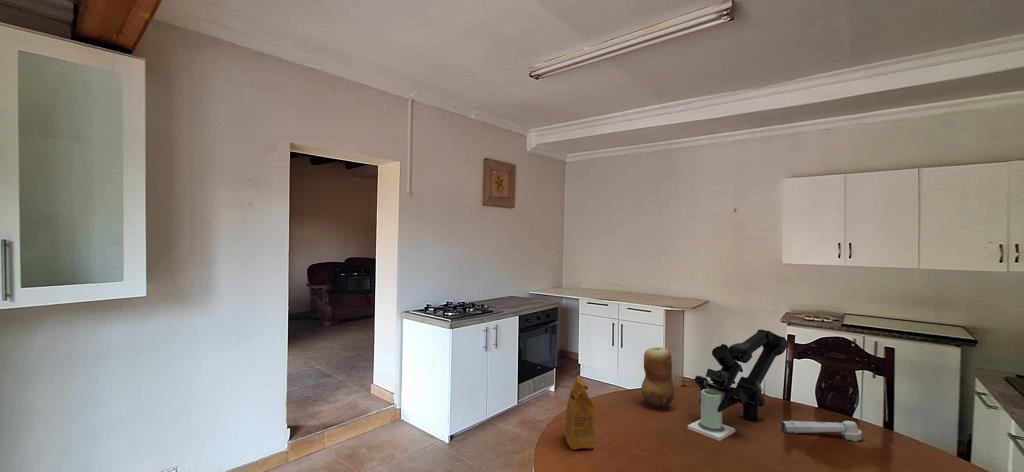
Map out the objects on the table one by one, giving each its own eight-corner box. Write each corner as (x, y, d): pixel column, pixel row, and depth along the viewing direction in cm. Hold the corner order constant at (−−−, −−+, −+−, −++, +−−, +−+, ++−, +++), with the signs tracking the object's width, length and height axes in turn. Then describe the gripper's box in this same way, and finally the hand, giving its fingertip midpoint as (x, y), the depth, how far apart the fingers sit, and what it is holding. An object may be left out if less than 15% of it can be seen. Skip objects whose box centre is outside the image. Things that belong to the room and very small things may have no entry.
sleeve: (714, 420, 158) (715, 389, 158) (725, 428, 152) (725, 395, 152) (697, 420, 158) (698, 389, 158) (707, 428, 151) (707, 396, 151)
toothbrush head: (779, 418, 157) (854, 416, 151) (781, 436, 157) (857, 434, 151) (784, 424, 152) (863, 422, 146) (787, 442, 152) (866, 441, 146)
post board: (703, 420, 163) (703, 408, 163) (735, 431, 154) (735, 418, 154) (687, 428, 156) (687, 415, 156) (719, 441, 146) (719, 427, 146)
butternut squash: (635, 401, 182) (636, 344, 182) (662, 398, 185) (662, 343, 186) (653, 414, 169) (653, 353, 169) (682, 411, 172) (682, 351, 172)
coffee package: (590, 434, 150) (591, 374, 151) (597, 451, 138) (598, 386, 138) (563, 433, 150) (564, 373, 151) (567, 451, 138) (568, 385, 138)
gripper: (697, 354, 165) (678, 387, 160) (741, 367, 149) (722, 404, 143) (709, 371, 169) (691, 403, 163) (755, 386, 152) (736, 422, 147)
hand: (709, 407), depth 154 cm, fingers closed on sleeve, 7 cm apart
